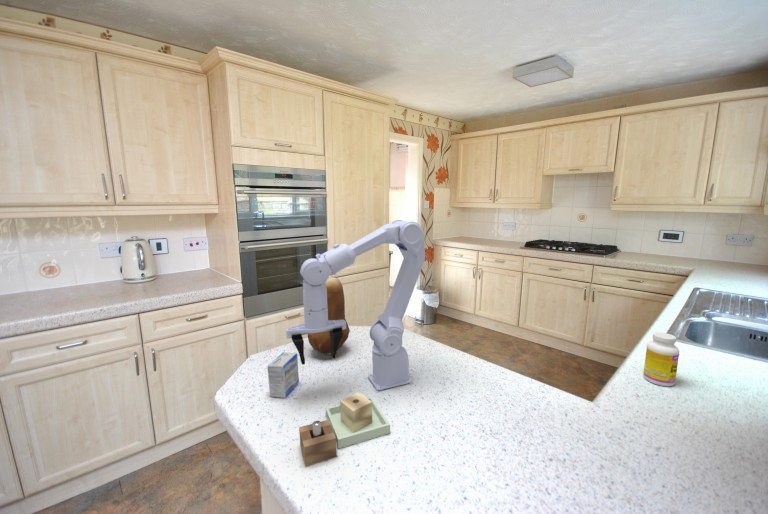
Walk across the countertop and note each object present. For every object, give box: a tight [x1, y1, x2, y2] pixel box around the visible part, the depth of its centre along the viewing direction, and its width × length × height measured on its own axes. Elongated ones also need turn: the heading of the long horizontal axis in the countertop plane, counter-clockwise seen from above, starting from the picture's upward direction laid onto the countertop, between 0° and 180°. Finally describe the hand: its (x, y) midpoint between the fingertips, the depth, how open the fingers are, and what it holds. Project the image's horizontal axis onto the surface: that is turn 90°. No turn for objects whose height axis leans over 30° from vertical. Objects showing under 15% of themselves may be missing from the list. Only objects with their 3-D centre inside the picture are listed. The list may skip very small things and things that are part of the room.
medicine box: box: [267, 351, 300, 399], centre depth 87 cm, size 8×4×9 cm, turn 168°
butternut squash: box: [307, 276, 351, 355], centre depth 107 cm, size 14×13×25 cm
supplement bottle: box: [642, 331, 680, 387], centre depth 88 cm, size 7×7×13 cm
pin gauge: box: [311, 420, 321, 438], centre depth 65 cm, size 2×2×6 cm
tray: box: [325, 396, 391, 449], centre depth 73 cm, size 11×11×2 cm
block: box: [339, 391, 372, 433], centre depth 73 cm, size 5×5×5 cm
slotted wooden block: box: [298, 419, 338, 467], centre depth 65 cm, size 6×6×4 cm
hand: (318, 359), depth 83 cm, fingers open, 7 cm apart
